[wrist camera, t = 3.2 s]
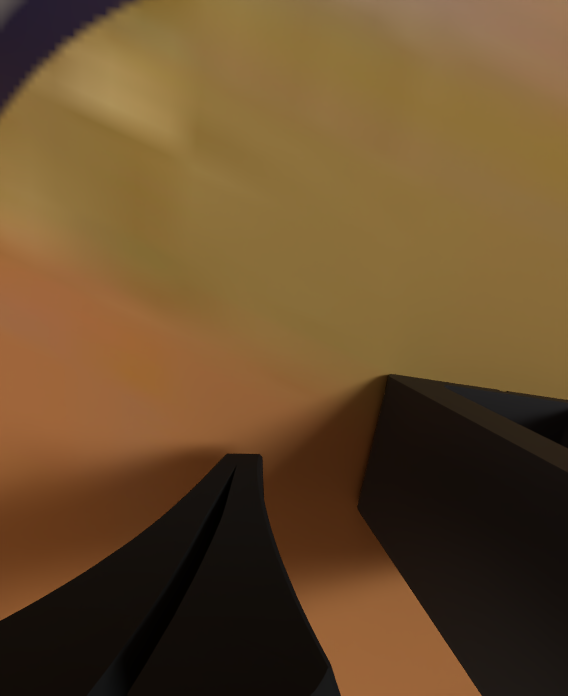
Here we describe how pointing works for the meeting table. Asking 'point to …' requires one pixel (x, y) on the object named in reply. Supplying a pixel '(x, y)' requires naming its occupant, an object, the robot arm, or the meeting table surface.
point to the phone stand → (478, 524)
